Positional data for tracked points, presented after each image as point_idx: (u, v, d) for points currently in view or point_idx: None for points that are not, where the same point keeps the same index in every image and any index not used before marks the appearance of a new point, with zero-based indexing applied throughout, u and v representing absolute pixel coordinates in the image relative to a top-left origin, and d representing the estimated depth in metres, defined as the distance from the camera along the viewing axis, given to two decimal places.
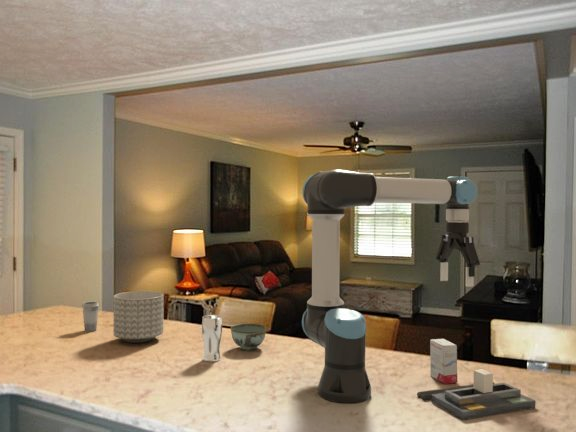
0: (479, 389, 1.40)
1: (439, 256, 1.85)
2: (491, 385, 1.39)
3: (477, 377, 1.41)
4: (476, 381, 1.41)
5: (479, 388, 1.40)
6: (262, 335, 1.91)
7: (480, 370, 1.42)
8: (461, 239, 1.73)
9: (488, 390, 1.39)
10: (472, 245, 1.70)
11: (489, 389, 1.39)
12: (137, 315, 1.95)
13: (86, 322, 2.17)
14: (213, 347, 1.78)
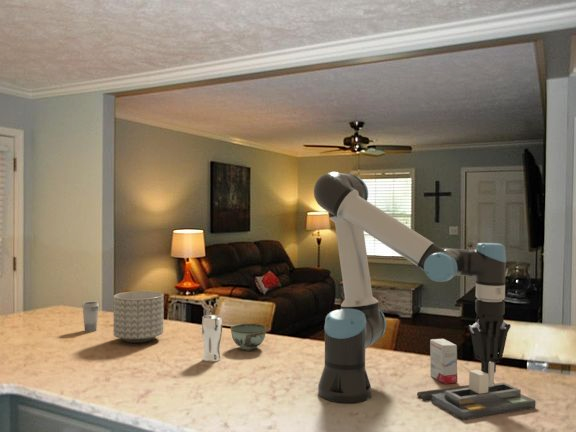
0: (475, 390, 1.39)
1: None
2: (487, 386, 1.39)
3: (473, 378, 1.40)
4: (471, 382, 1.41)
5: (475, 389, 1.39)
6: (262, 335, 1.91)
7: (476, 371, 1.41)
8: None
9: (484, 391, 1.38)
10: (475, 337, 1.39)
11: (485, 390, 1.38)
12: (137, 315, 1.95)
13: (86, 322, 2.17)
14: (213, 347, 1.78)
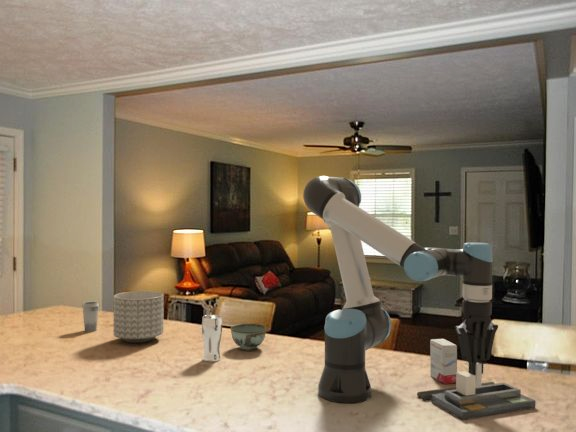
0: (461, 392, 1.38)
1: None
2: (474, 387, 1.37)
3: (459, 379, 1.39)
4: (458, 384, 1.39)
5: (462, 390, 1.38)
6: (262, 335, 1.91)
7: (463, 372, 1.40)
8: None
9: (471, 393, 1.37)
10: (462, 338, 1.37)
11: (472, 392, 1.37)
12: (137, 315, 1.95)
13: (86, 322, 2.17)
14: (213, 347, 1.78)
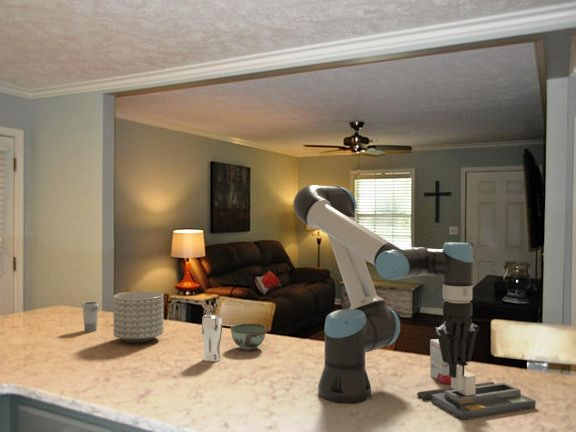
0: (462, 391, 1.38)
1: None
2: (474, 387, 1.37)
3: None
4: None
5: (462, 390, 1.38)
6: (262, 335, 1.91)
7: None
8: None
9: (471, 393, 1.37)
10: (442, 339, 1.35)
11: (472, 392, 1.37)
12: (137, 315, 1.95)
13: (86, 322, 2.17)
14: (213, 347, 1.78)
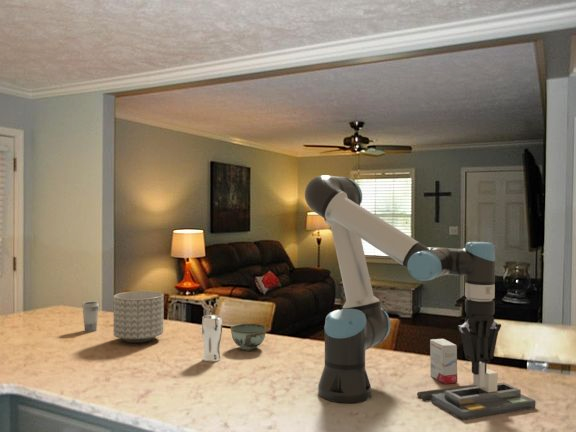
0: (484, 388, 1.40)
1: None
2: (496, 384, 1.40)
3: None
4: None
5: (484, 387, 1.40)
6: (262, 335, 1.91)
7: None
8: None
9: (493, 389, 1.39)
10: (465, 337, 1.38)
11: (494, 388, 1.40)
12: (137, 315, 1.95)
13: (86, 322, 2.17)
14: (213, 347, 1.78)
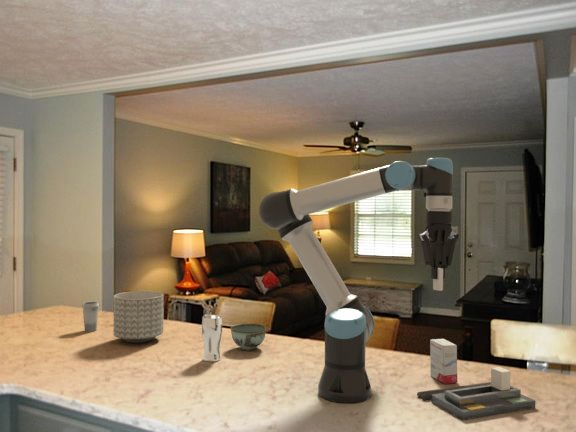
0: (497, 386, 1.42)
1: None
2: (508, 383, 1.41)
3: (494, 375, 1.43)
4: (493, 379, 1.43)
5: (497, 385, 1.42)
6: (262, 335, 1.91)
7: (497, 368, 1.44)
8: None
9: (506, 387, 1.41)
10: (424, 244, 1.50)
11: (507, 386, 1.41)
12: (137, 315, 1.95)
13: (86, 322, 2.17)
14: (213, 347, 1.78)
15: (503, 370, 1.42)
